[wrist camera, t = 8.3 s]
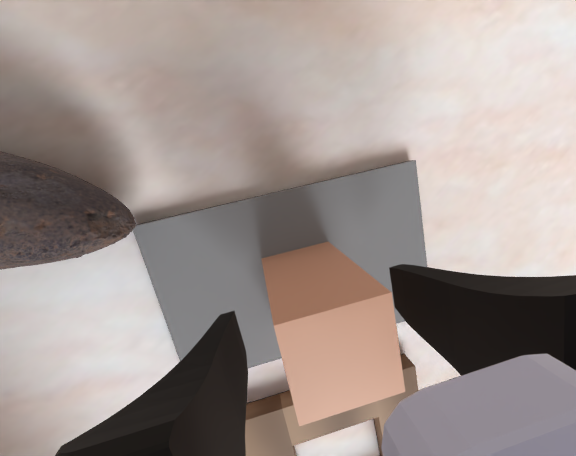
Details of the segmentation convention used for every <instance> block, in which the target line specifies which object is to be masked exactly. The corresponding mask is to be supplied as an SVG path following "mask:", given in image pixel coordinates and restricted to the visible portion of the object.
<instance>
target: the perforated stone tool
mask: <svg viewBox="0 0 576 456" xmlns="http://www.w3.org/2000/svg"><path fill="white" fill-rule="evenodd" d="M134 219H135V218H134V217H133V215H132V214H131V212H130V210H129V209H128V208H127V207H126V206H125V205H124V204H123V203H122V202H120V201H119V200H118V199H116V198H115V197H113V196H112V195H110V194H108V193H107V192H105V191H103V190H102V189H100V188H98V187H96V186H94V185H92V184H90V183H88V182H86V181H84V180H82V179H80V178H78V177H76V176H73V175H71V174H68V173H66V172H64V171H61V170H59V169H56V168H54V167H51V166H48V165H45V164H42V163H39V162H36V161H32V160H29V159H26V158H22V157H19V156H15V155H12V154H8V153H4V152H0V269H7V268H15V267H20V266H30V265H38V264H44V263H50V262H56V261H61V260H66V259H71V258H75V257H76V258H78V257H81V256H82V255H84V254H88V253H91V252H94V251H97V250H99V249H102V248H104V247H107V246H109V245H111V244H114V243H115V242H117V241H119V240H121V239H123V238H125V237H126V236H127V235H128V234H129V233H130V232H132V230H133V229H134V228H135V226H136V223H135V220H134Z"/></svg>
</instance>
